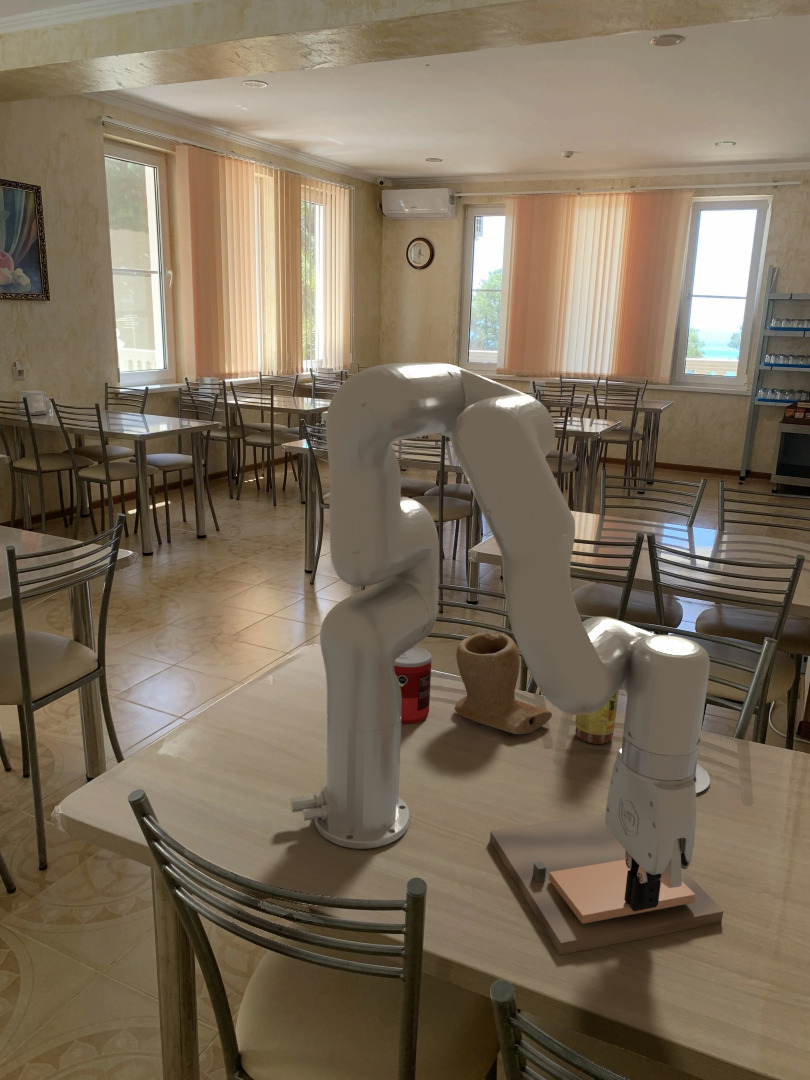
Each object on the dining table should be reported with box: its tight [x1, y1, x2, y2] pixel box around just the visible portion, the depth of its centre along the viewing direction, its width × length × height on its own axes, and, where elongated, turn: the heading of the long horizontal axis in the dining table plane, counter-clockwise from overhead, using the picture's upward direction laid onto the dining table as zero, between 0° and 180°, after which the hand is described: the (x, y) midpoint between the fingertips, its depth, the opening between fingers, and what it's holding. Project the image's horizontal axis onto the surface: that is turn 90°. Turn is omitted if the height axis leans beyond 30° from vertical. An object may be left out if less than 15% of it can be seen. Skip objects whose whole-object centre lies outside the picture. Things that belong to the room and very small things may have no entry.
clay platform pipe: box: [454, 632, 553, 735], centre depth 133 cm, size 15×12×15 cm
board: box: [489, 813, 724, 955], centre depth 96 cm, size 20×20×3 cm
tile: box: [549, 860, 695, 924], centre depth 92 cm, size 8×14×1 cm, turn 106°
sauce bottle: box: [574, 690, 619, 745], centre depth 129 cm, size 6×6×20 cm
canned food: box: [394, 646, 433, 725], centre depth 135 cm, size 8×8×11 cm
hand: (640, 904), depth 88 cm, fingers closed
